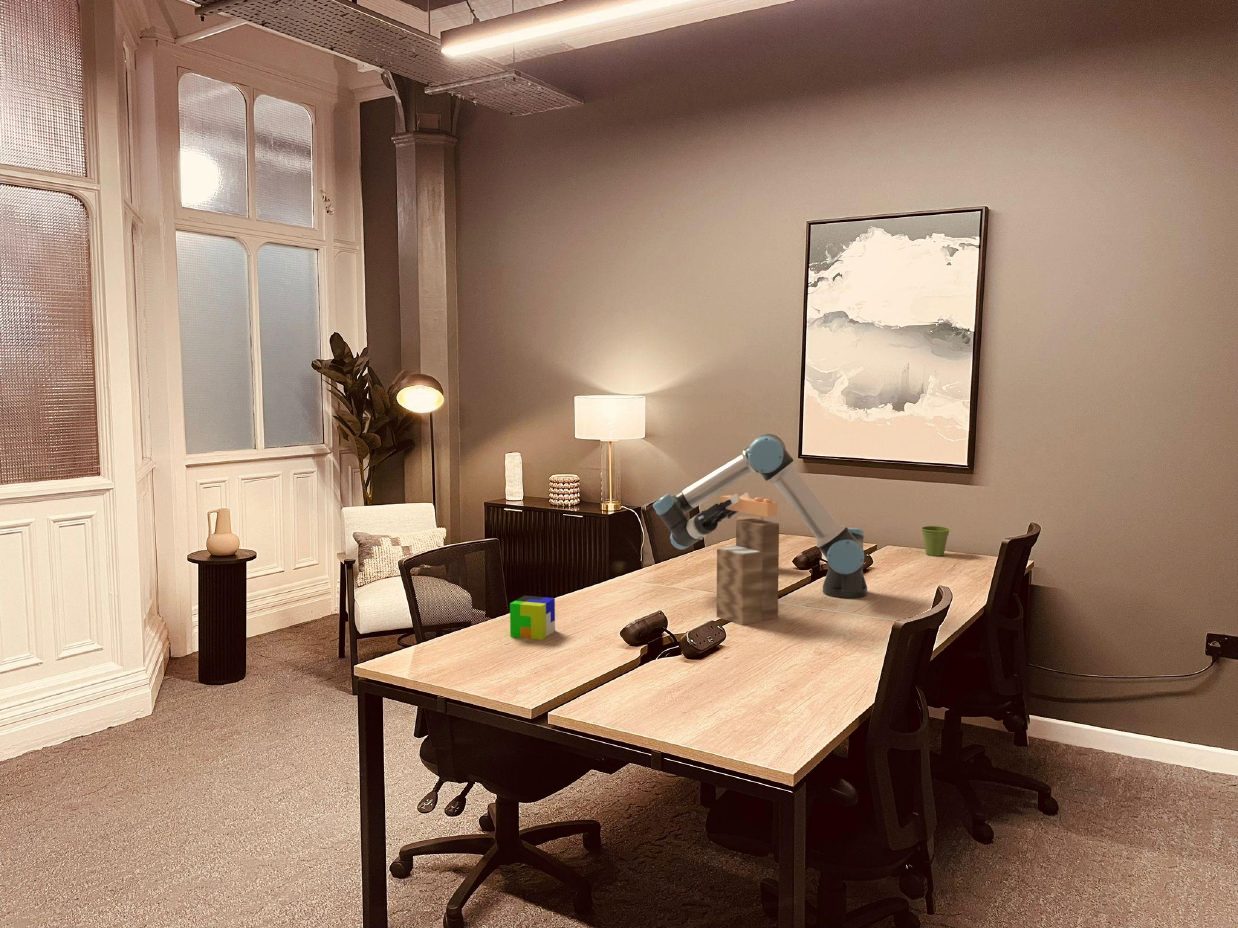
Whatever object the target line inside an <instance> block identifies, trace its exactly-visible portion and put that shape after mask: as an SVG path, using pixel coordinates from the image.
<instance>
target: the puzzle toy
mask: <svg viewBox="0 0 1238 928" xmlns="http://www.w3.org/2000/svg"><path fill="white" fill-rule="evenodd" d="M555 601H556V599H555V597H548V596H547V597H545V596H534V595H522V596H520V597H519V598H518V599H516V600H514V601H512V602H510V603H509V627H510V634H509V636H510V638H521V639H529V640H530V639H531V640H538V641H539V640H540V641H542V640H544V639H545V638H546V637H548V636H549V635H551V634H552V633H554V632H555V631H556V602H555Z"/></svg>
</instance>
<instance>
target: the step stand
mask: <svg viewBox="0 0 1238 928" xmlns="http://www.w3.org/2000/svg"><path fill="white" fill-rule="evenodd" d="M735 526H736V528H735V529H736V531H735V538H736V539H735V545H731V546H725V547H719V548H716V617H717V618H719V619H723V620H724V621H729V622H732V623H735V624H738V625H741V626H745V625H750V624H754V623H759V622H763V621H769V620H773V619H778V618H779V568H780V567H779V566H780V565H779V561H780V559H779V558H780V554H779V550H780V523H779V522H775V521H769V520H765V519H763V520H759V519H753V518H751V519H744V520H737V519H736V523H735Z"/></svg>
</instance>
